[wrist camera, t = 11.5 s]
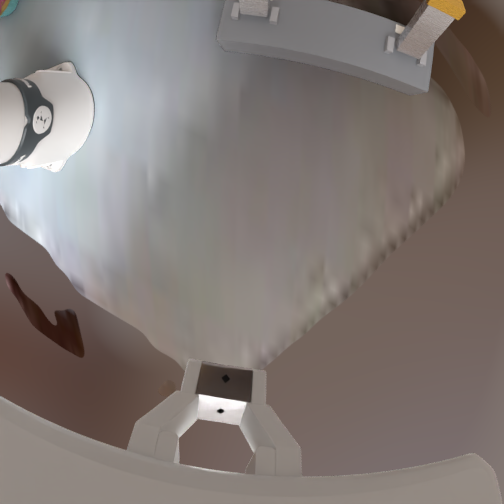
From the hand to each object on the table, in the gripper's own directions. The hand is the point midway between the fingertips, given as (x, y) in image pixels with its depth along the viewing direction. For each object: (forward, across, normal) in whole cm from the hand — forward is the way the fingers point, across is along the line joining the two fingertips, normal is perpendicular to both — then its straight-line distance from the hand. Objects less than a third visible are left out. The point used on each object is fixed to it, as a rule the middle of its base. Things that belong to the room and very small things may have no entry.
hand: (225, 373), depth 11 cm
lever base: (+35, -6, -20) cm, 40 cm away
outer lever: (+27, -14, -20) cm, 37 cm away
